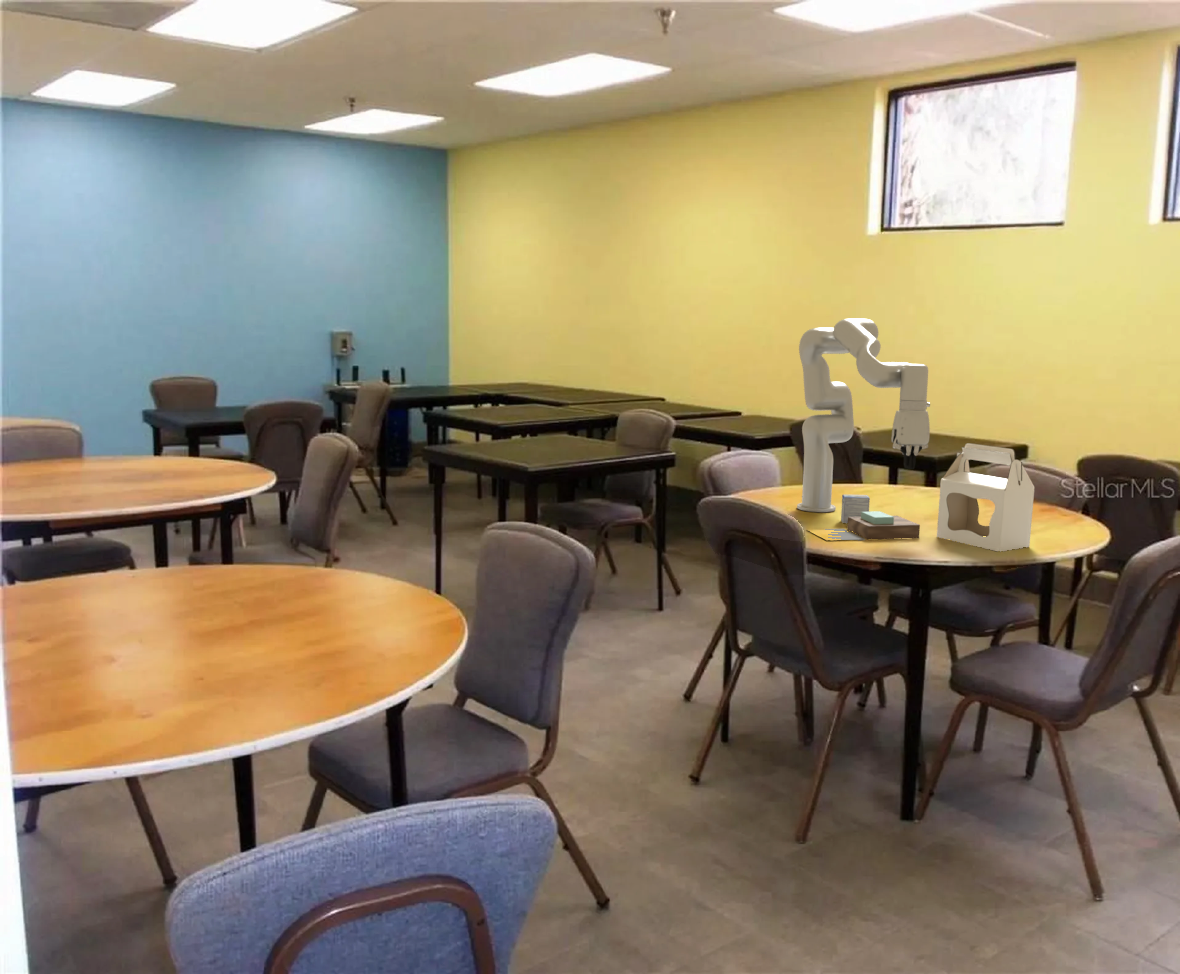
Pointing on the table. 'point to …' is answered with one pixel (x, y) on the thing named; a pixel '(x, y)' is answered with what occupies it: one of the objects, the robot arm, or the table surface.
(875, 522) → the block
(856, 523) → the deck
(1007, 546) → the gable box
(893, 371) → the robot arm
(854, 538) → the mat
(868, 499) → the medicine box
